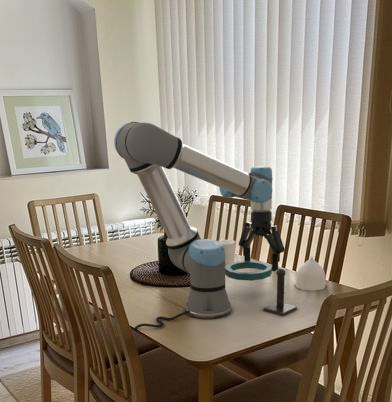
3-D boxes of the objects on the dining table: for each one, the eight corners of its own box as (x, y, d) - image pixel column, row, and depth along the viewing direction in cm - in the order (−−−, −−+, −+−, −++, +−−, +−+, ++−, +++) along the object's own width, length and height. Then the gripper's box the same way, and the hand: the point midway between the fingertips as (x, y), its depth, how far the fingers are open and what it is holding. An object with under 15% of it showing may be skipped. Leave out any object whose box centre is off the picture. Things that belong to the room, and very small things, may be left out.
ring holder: (283, 316, 179) (284, 273, 174) (263, 310, 184) (263, 269, 179) (296, 309, 184) (298, 267, 179) (277, 304, 189) (278, 263, 184)
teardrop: (315, 280, 213) (317, 250, 209) (331, 288, 203) (332, 257, 199) (290, 283, 210) (291, 253, 206) (304, 292, 200) (305, 260, 196)
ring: (252, 283, 189) (252, 276, 188) (216, 274, 200) (216, 268, 199) (280, 272, 200) (280, 266, 199) (245, 264, 211) (245, 258, 210)
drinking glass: (238, 263, 239) (238, 240, 235) (229, 267, 232) (229, 244, 229) (223, 261, 243) (222, 238, 239) (214, 265, 236) (213, 242, 233)
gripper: (295, 212, 192) (294, 270, 199) (241, 205, 208) (241, 260, 215) (283, 215, 187) (282, 275, 194) (228, 208, 203) (229, 264, 210)
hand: (260, 267), depth 205 cm, fingers closed on ring, 12 cm apart
